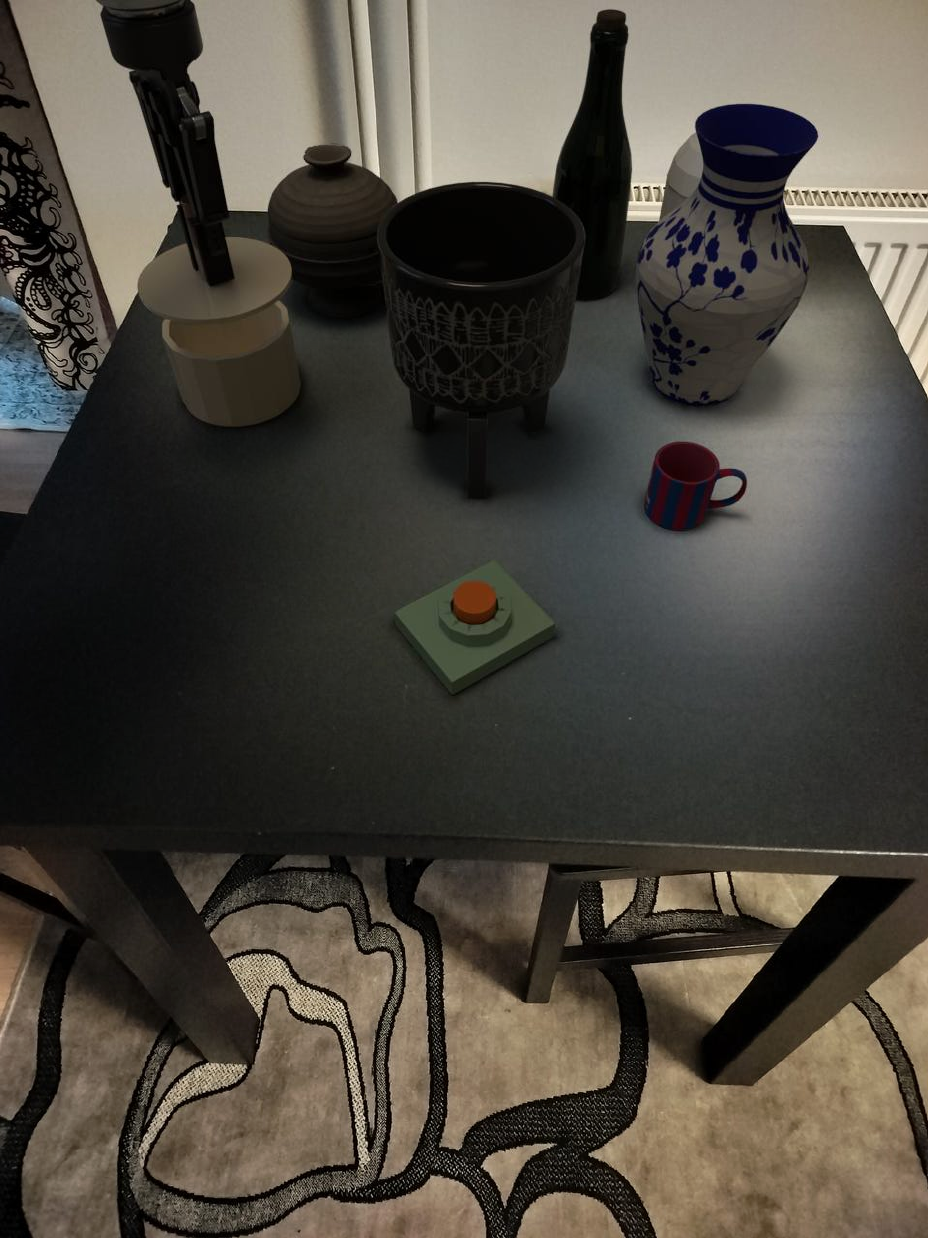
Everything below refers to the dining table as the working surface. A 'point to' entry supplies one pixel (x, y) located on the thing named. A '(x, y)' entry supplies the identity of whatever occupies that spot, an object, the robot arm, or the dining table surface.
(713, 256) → the vase
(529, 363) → the planter
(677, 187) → the container
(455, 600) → the button
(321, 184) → the pot
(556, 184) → the wine bottle
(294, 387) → the canister
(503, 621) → the block
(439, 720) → the dining table surface
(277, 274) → the lid
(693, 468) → the cup
